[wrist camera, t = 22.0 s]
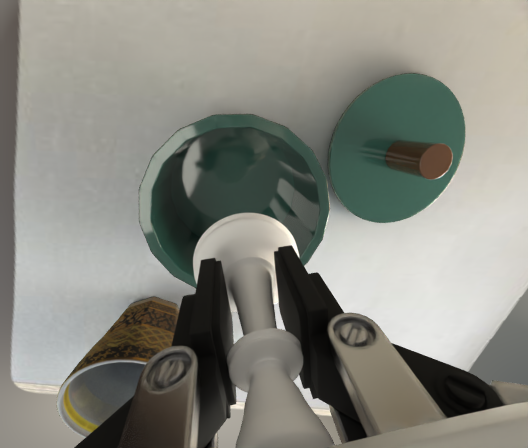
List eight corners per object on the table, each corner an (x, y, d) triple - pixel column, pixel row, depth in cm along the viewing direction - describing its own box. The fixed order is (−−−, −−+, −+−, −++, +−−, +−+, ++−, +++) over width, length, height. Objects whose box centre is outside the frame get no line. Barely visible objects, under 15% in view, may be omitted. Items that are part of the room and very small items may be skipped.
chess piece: (170, 250, 11) (-42, 769, 2) (265, 191, 11) (477, 505, 2) (231, 321, 13) (255, 763, 4) (314, 272, 13) (540, 628, 4)
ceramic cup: (96, 339, 30) (40, 434, 21) (126, 270, 28) (77, 344, 18) (201, 367, 34) (192, 457, 25) (235, 308, 31) (240, 385, 22)
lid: (478, 91, 26) (549, 81, 21) (426, 224, 31) (472, 247, 25) (346, 60, 24) (385, 40, 18) (311, 212, 28) (334, 234, 23)
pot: (312, 129, 25) (350, 131, 18) (286, 255, 30) (308, 299, 22) (165, 104, 23) (137, 94, 15) (162, 246, 27) (139, 292, 20)
